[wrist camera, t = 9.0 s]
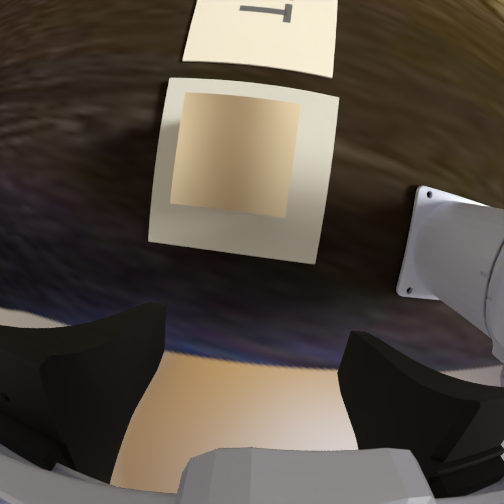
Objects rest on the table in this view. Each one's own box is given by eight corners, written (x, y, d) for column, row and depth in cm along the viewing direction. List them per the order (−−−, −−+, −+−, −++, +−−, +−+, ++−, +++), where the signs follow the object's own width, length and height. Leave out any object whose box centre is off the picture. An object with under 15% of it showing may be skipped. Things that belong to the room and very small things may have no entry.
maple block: (287, 128, 18) (300, 104, 12) (277, 207, 19) (285, 217, 13) (207, 119, 18) (185, 92, 12) (197, 196, 19) (170, 203, 13)
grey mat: (336, 99, 18) (339, 97, 17) (313, 262, 20) (314, 264, 19) (172, 80, 18) (169, 78, 17) (151, 239, 20) (148, 241, 19)
